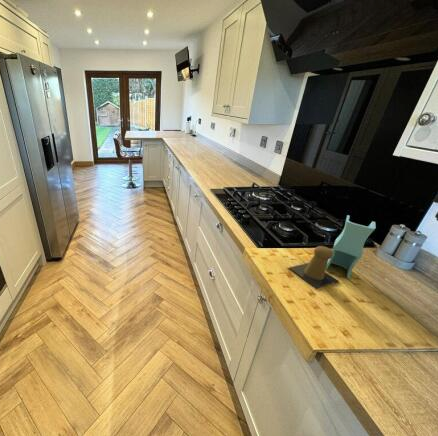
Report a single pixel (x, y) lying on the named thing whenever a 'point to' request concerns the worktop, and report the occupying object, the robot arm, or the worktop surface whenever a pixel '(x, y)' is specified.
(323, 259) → the cork
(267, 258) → the worktop surface
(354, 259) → the teal waisted stand
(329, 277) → the slate coaster
